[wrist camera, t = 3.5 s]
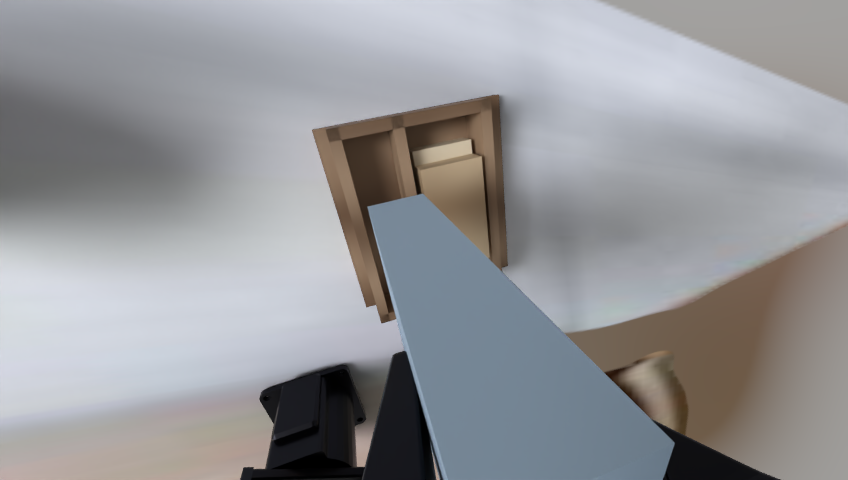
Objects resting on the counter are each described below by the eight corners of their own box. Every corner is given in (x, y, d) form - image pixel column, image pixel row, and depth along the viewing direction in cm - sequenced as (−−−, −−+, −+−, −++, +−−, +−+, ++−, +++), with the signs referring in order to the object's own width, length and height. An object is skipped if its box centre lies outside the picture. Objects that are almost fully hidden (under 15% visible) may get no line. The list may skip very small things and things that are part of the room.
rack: (503, 262, 24) (523, 280, 21) (365, 302, 22) (369, 327, 19) (494, 95, 18) (518, 92, 16) (312, 129, 17) (308, 132, 14)
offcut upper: (481, 249, 20) (489, 257, 19) (432, 263, 20) (437, 272, 19) (472, 153, 18) (481, 156, 16) (414, 166, 17) (420, 170, 16)
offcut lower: (474, 251, 22) (482, 259, 21) (428, 264, 21) (433, 273, 20) (462, 137, 18) (470, 139, 17) (407, 149, 18) (412, 151, 17)
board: (447, 340, 14) (601, 664, 6) (405, 354, 13) (505, 719, 5) (422, 193, 11) (674, 443, 3) (367, 206, 10) (463, 535, 2)
